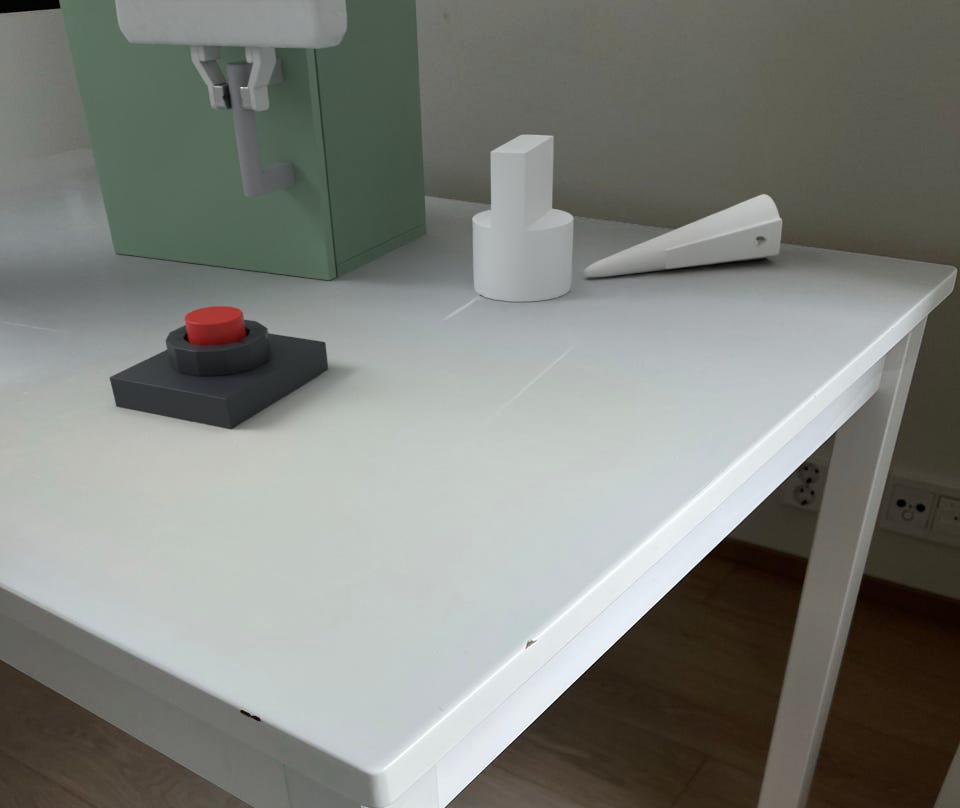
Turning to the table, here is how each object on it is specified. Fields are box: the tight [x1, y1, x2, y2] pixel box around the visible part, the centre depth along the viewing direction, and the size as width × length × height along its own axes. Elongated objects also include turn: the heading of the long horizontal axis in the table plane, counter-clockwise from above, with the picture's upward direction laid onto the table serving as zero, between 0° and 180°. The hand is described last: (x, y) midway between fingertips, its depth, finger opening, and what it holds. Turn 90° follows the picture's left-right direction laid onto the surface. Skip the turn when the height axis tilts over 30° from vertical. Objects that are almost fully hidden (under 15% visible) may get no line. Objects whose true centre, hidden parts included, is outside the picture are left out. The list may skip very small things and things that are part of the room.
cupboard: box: [314, 0, 427, 278], centre depth 100 cm, size 18×26×24 cm
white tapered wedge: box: [583, 193, 783, 278], centre depth 96 cm, size 6×6×19 cm
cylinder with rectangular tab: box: [471, 134, 575, 303], centre depth 89 cm, size 9×9×12 cm
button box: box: [109, 319, 329, 430], centre depth 72 cm, size 12×10×4 cm
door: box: [58, 0, 337, 282], centre depth 90 cm, size 7×26×24 cm, turn 64°
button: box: [184, 305, 246, 345], centre depth 70 cm, size 4×4×2 cm
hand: (240, 109), depth 83 cm, fingers closed on door, 2 cm apart
